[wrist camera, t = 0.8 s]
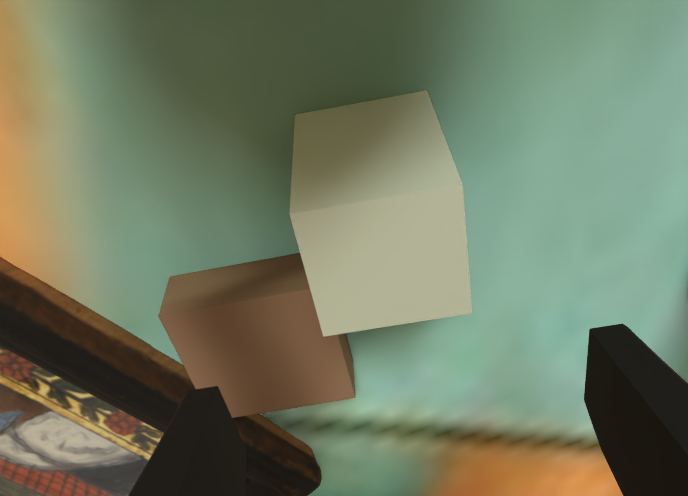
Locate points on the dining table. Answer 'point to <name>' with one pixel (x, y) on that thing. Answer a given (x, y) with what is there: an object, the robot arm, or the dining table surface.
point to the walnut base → (256, 336)
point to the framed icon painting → (103, 403)
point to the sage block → (379, 215)
